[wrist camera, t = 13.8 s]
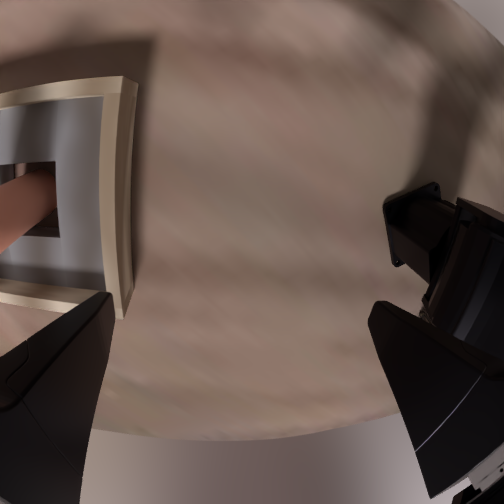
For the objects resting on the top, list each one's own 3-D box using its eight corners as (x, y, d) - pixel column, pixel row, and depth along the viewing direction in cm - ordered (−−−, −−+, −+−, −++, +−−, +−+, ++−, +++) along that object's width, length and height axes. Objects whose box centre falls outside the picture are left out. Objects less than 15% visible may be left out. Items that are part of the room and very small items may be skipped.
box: (-8, 273, 20) (-29, 295, 16) (-24, 107, 13) (-53, 110, 10) (133, 290, 23) (123, 319, 19) (138, 83, 16) (122, 75, 13)
